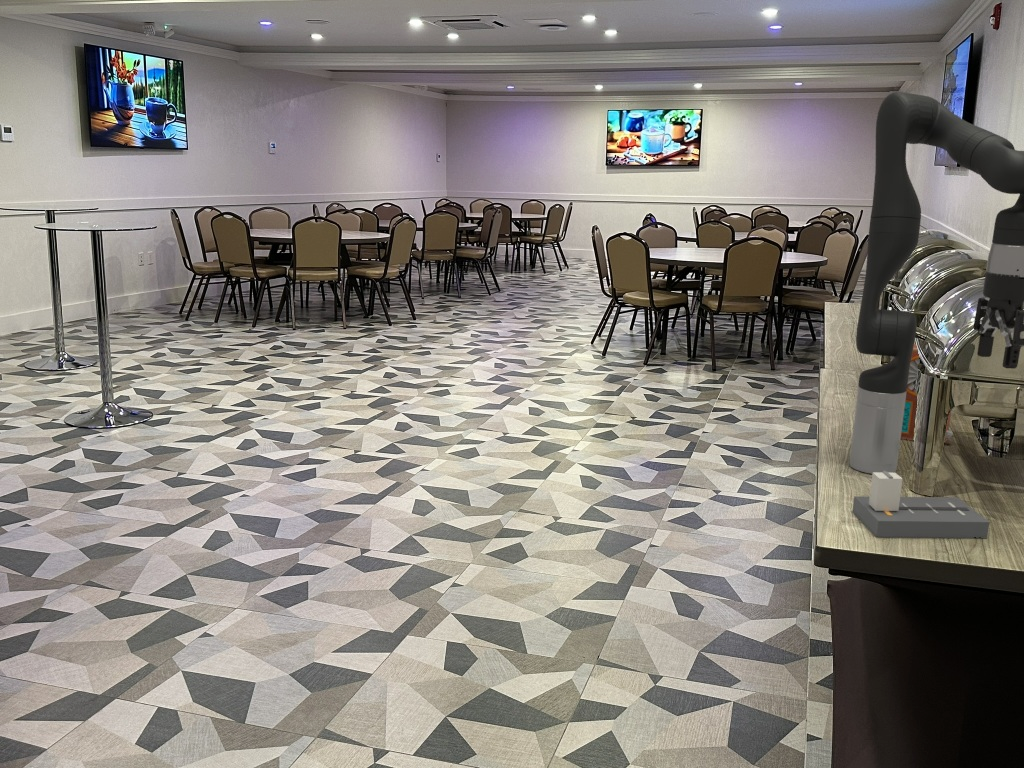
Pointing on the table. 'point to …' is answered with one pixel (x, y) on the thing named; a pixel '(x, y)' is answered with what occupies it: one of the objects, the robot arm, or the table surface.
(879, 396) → the robot arm
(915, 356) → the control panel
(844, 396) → the table surface
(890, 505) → the fader
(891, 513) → the console
